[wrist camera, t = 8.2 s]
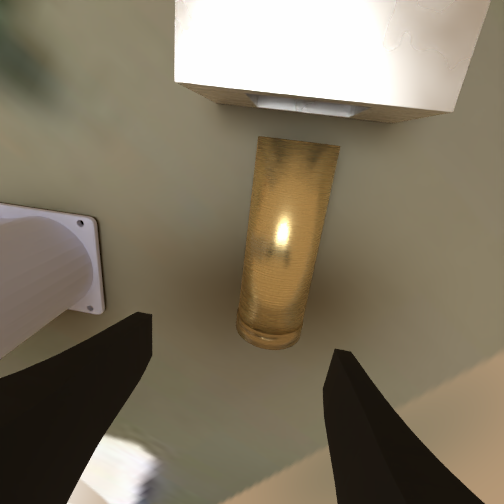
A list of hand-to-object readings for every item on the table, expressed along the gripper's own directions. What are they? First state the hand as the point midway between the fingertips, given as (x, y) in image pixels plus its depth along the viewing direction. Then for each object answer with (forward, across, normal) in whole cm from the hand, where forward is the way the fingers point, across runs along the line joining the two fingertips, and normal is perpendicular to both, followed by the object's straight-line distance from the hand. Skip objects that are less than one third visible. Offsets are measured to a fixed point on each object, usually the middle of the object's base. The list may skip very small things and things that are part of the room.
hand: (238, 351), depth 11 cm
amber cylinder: (+8, -1, -2) cm, 9 cm away
